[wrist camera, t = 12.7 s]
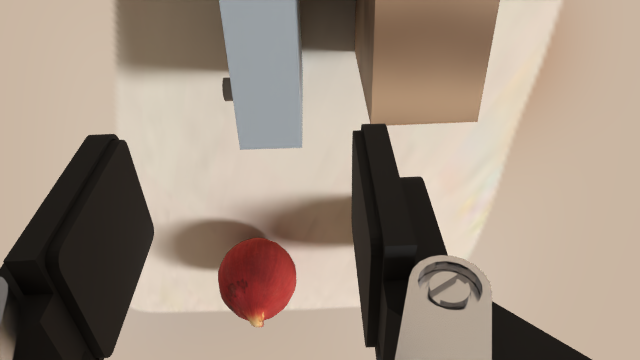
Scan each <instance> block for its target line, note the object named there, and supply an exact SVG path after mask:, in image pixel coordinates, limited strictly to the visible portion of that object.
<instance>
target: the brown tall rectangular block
mask: <svg viewBox="0 0 640 360" xmlns="http://www.w3.org/2000/svg"><path fill="white" fill-rule="evenodd" d="M499 2H500V0H356V4H355V54H356V59H357V64H358V68H359V73H360V77H361V82H362V87H363V91H364V96H365V101H366V105H367V110H368V115H369V119H370V124H382V123H385V124H386V125H408V124H432V123H456V122H477V121H478V115H479V110H480V104H481V99H482V94H483V88H484V83H485V77H486V72H487V67H488V61H489V56H490V51H491V45H492V40H493V34H494V29H495V24H496V18H497V13H498V7H499Z"/></svg>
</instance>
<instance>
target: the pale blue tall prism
mask: <svg viewBox="0 0 640 360" xmlns="http://www.w3.org/2000/svg"><path fill="white" fill-rule="evenodd" d="M219 5H220V12H221V19H222V26H223V33H224V40H225V47H226V54H227V61H228V68H229V75H230V78H223V84H222V86H223V96H224V100H225V101H233V103H234V110H235V117H236V124H237V131H238V138H239V145H240V150H243V149H275V148H302V95H303V67H302V45H301V23H300V1H299V0H219Z"/></svg>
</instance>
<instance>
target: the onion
mask: <svg viewBox="0 0 640 360" xmlns="http://www.w3.org/2000/svg"><path fill="white" fill-rule="evenodd" d="M218 282H219V288H220V293H221V297H222V299H223V301H224V303H225V304H226V305H227V306H228V307H229V308H230V309H231V310H232V311H233V312H234V313H235V314H236V315H238V316H239V317H241V318H243V319H245V320H248V321H250V323H251V325H253V326H254V327H262V326H263V325H264V322H263V321H264V320H266V319H269V318H272V317H273V316H275V315H276V314H277V313H279V312H280V311H281V310H283V309H284V308H285V306H286V305H287V304H288V302H289V300H290V298H291V296H292V295H293V293H294V291H295V287H296V269H295V264H294V262H293V261H292V259H291V257H290V255H289V254H288V253H287V251H286V250H285V249H283V248H282V247H281V246H280V245H278V244H277V243H275V242H273V241H270V240H267V239H265V238H252V239H248V240H245V241H242V242H240V243H239V244H237V245H236V246H234V247H233V248H232V249H231V250H230V251H229V252H228V253H227V254H226V256H225V258H224V259H223V261H222V263H221V265H220V268H219V271H218Z"/></svg>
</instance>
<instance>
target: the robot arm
mask: <svg viewBox="0 0 640 360" xmlns="http://www.w3.org/2000/svg"><path fill="white" fill-rule="evenodd" d="M352 233H353V242H354V250H355V259H356V268H357V277H358V286H359V294H360V303H361V312H362V320H363V330H364V338H365V345H366V347H375V351H376V359H377V360H592V359H590V358H588V357H587V356H585V355H583V354H581V353H580V352H578V351H576V350H575V349H573V348H571V347H569V346H568V345H566V344H564V343H562V342H561V341H559V340H557V339H556V338H554V337H552V336H551V335H549V334H547V333H545V332H544V331H542V330H540V329H539V328H537V327H535V326H533V325H532V324H530V323H528V322H526V321H525V320H523V319H522V318H520V317H518V316H516V315H515V314H513V313H511V312H510V311H508V310H506V309H504V308H503V307H501V306H499V305H497V304H496V303H494V302H492V291H491V285H490V282H489V280H488V279H487V277H486V275H485V274H484V273H483V272H482V271H481V270H480V269H479V268H478V267H477V266H476V265H474V264H472V263H470V262H468V261H467V260H465V259H462V258H458V257H455V256H448V255H447V251H446V248H445V245H444V242H443V239H442V236H441V233H440V230H439V227H438V224H437V220H436V217H435V214H434V211H433V208H432V205H431V202H430V199H429V196H428V193H427V189H426V186H425V183H424V181H423V178H422V177H399V173H398V169H397V165H396V161H395V157H394V154H393V150H392V146H391V142H390V138H389V134H388V131H387V127H386V124H385V123H382V124H362V126H361V130H360V131H353V144H352ZM153 236H154V227H153V223H152V220H151V217H150V213H149V210H148V207H147V204H146V201H145V198H144V195H143V192H142V189H141V186H140V182H139V179H138V176H137V173H136V170H135V167H134V164H133V161H132V158H131V155H130V151H129V148H128V145H127V143H126V142H125V141H124V140H119V138H118V137H117V136H116V135H115V134H105V135H88V136H87V137H86V139H85V140H84V142H83V143H82V145H81V146H80V148H79V149H78V151H77V152H76V154H75V155H74V157H73V158H72V160H71V161H70V163H69V164H68V166H67V167H66V168H65V170H64V172H63V173H62V175H61V176H60V177H59V179H58V180H57V182H56V183H55V185H54V187H53V188H52V190H51V191H50V193H49V194H48V195H47V197H46V198H45V200H44V201H43V203H42V204H41V206H40V207H39V209H38V210H37V212H36V213H35V215H34V216H33V218H32V219H31V221H30V222H29V224H28V225H27V227H26V228H25V230H24V231H23V233H22V234H21V236H20V237H19V239H18V240H17V242H16V243H15V245H14V246H13V248H12V249H11V251H10V252H9V254H8V255H7V257H6V258H5V259H4V261H3V262H4V264H3V265H2V267H1V268H0V360H104V358H108V357H110V356H111V355H112V353H113V351H114V348H115V345H116V342H117V339H118V337H119V334H120V331H121V328H122V325H123V322H124V320H125V317H126V314H127V311H128V308H129V306H130V303H131V300H132V297H133V294H134V291H135V289H136V286H137V283H138V280H139V277H140V275H141V272H142V269H143V266H144V263H145V260H146V258H147V255H148V252H149V249H150V246H151V243H152V241H153Z"/></svg>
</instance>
